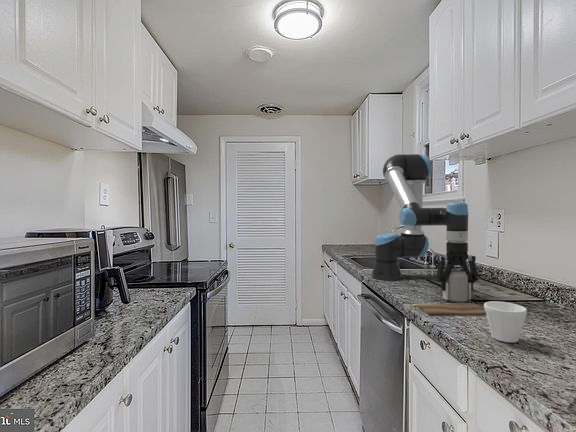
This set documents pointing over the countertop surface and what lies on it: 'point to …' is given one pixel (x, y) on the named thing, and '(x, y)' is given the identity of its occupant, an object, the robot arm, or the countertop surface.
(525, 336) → the countertop surface
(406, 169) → the robot arm
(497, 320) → the cup
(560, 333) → the countertop surface
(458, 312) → the board
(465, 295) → the can
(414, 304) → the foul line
